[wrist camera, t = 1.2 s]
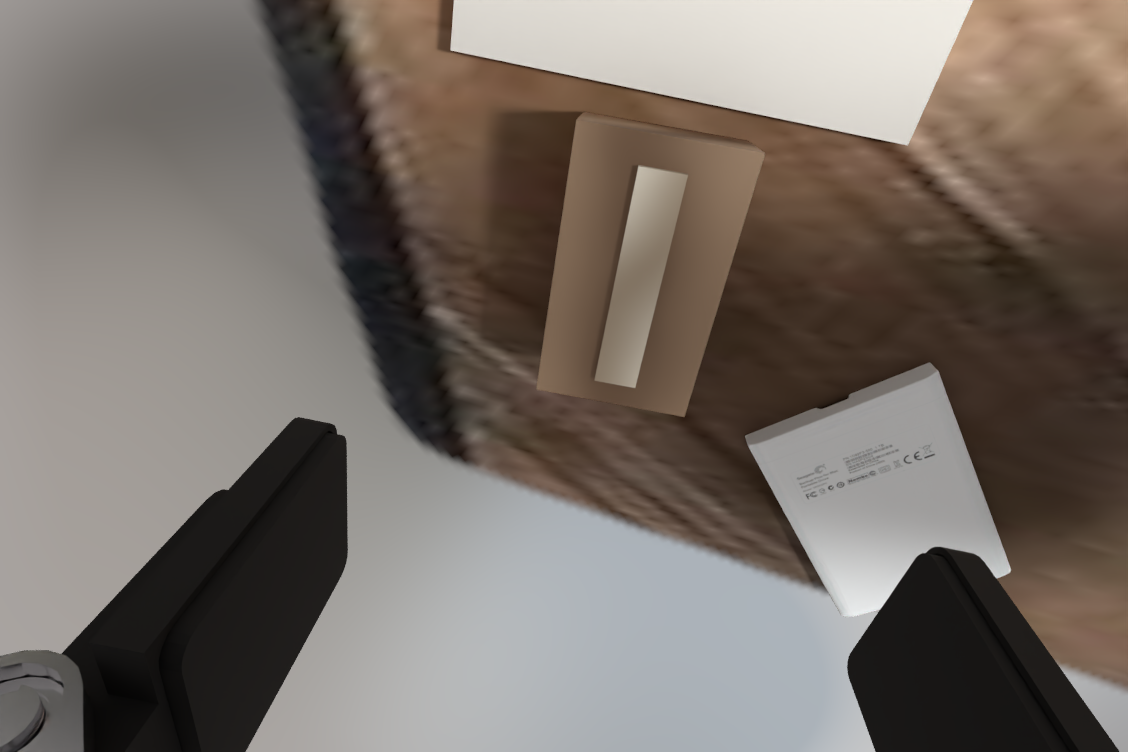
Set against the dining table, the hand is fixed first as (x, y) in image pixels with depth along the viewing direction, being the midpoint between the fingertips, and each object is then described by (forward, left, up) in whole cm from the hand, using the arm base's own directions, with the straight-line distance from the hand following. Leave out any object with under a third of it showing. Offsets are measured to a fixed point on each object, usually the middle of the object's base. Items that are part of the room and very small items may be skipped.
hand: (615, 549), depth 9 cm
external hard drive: (-14, +9, -17) cm, 24 cm away
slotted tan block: (0, 0, -16) cm, 16 cm away
